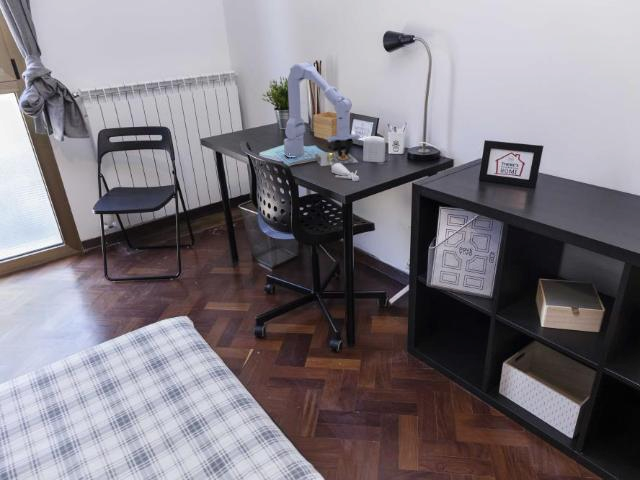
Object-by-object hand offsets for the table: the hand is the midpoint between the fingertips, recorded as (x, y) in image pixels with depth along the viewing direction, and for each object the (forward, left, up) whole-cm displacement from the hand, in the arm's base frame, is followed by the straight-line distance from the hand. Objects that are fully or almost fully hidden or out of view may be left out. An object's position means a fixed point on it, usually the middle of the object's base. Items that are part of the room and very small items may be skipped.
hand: (343, 155), depth 225 cm
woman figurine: (-5, -19, -4) cm, 20 cm away
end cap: (+4, +22, -4) cm, 23 cm away
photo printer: (+13, -5, -4) cm, 15 cm away
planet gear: (0, +1, -2) cm, 2 cm away
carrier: (-3, +5, -3) cm, 7 cm away
